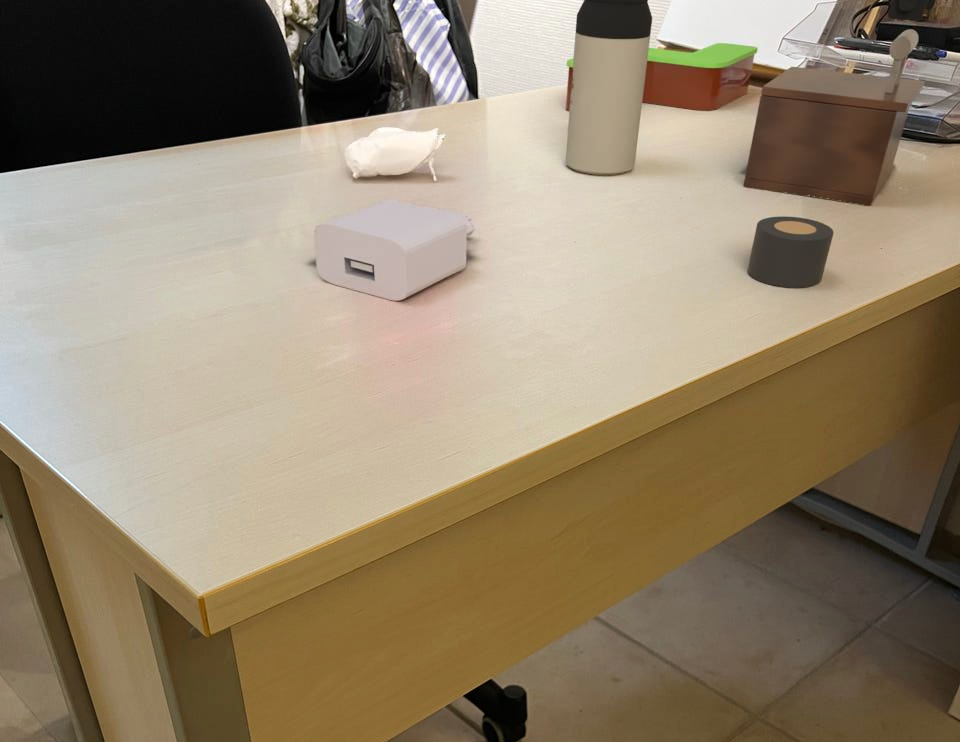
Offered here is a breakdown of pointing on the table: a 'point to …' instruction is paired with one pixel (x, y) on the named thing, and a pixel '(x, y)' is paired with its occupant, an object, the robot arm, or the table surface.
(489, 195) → the table surface
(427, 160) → the bird figurine
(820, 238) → the tape
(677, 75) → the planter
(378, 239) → the charger
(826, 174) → the chest
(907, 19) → the robot arm
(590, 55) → the travel mug
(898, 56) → the lid
